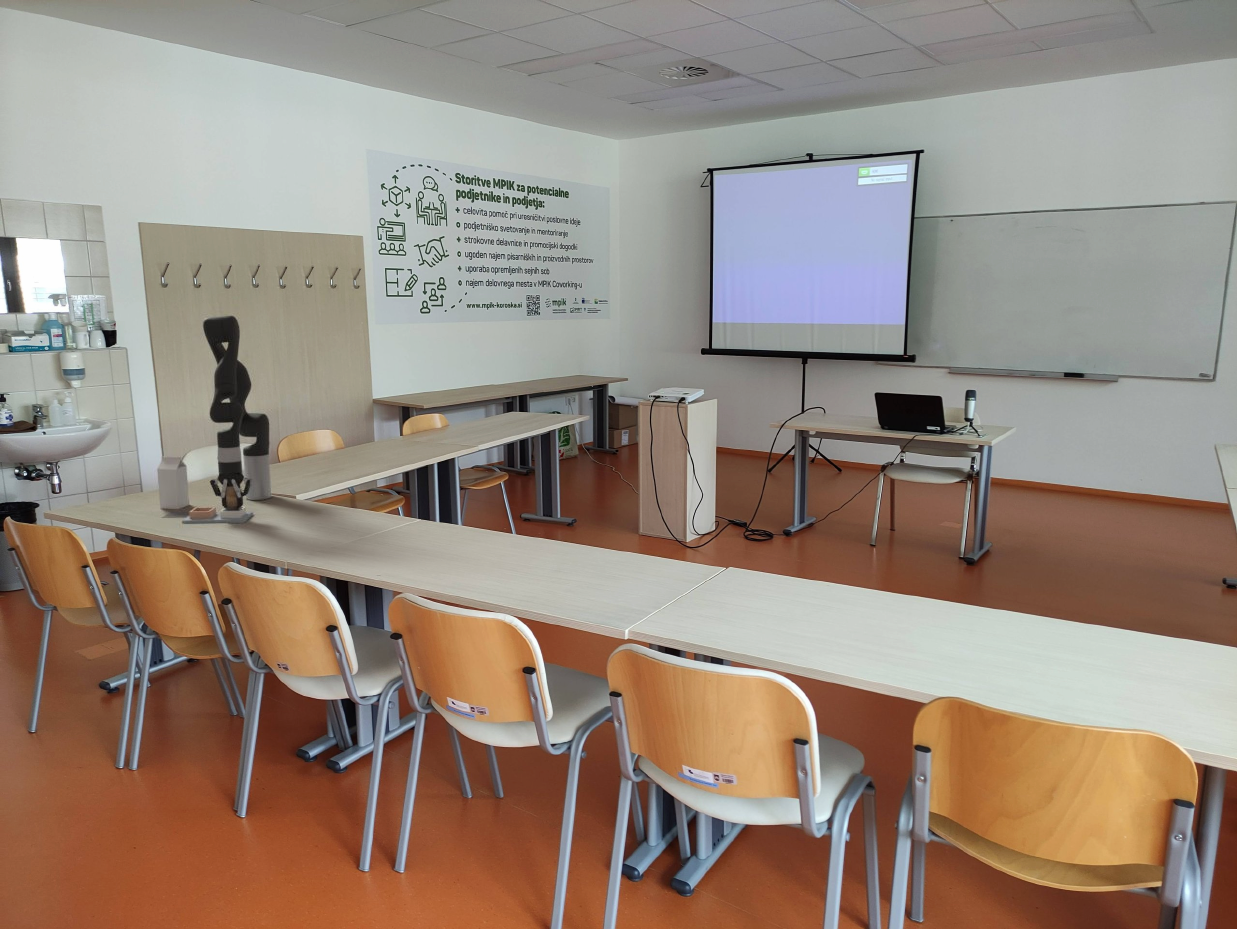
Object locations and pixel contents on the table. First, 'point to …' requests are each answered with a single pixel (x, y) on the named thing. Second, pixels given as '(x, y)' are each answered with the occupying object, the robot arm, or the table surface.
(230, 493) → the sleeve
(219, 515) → the double pet bowl
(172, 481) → the milk carton
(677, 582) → the table surface
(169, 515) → the feeder mat
